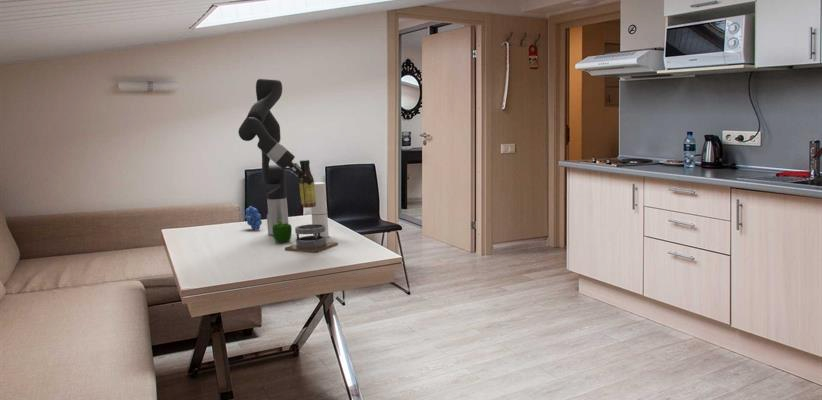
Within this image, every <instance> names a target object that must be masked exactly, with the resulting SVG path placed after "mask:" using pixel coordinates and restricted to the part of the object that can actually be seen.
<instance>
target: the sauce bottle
mask: <svg viewBox="0 0 822 400" xmlns="http://www.w3.org/2000/svg"><path fill="white" fill-rule="evenodd" d="M299 164H300V165H299V166H300V167H301V169H302V170H303V173H304V174H306V176H307V177H308V178H310V179H311V180H312V183H311V184H310V185H308V184H307V183H306V182H305V181H304V180H303V179H300V178H299V177H298V181H299V183H298V184H299V186H298V187H299V195H300V204H301V207H302V208H311V207H315V206H316V197H315V187H314V183H315V180H314V177H313V175H312V171H311V167H310V160H309V159H302V160H299ZM301 174H302V173H301ZM301 174H300V175H301Z"/></svg>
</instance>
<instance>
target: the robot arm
mask: <svg viewBox="0 0 822 400" xmlns="http://www.w3.org/2000/svg"><path fill="white" fill-rule="evenodd" d="M255 93H256V95H255V96H256V102H255V103H253V105H252V106H251V107H250V109H249V112H248V113H247V115H246V118H245V119H244V121H243V122H242V123H241V125H240V126H239V128H238V137H239V138H240V139H241V140H242V141H245V142H249V141H253V140H254V138H255V137H257V138H258V141H257V148H258V149H259V150H260V151H261V178H262V183H263V184H264V185H265V186H266V185H269V186H270V185H271V186H272V185H278V186H277V187H276V188H275V189H273V190H271V191H269V192H267V193H266V200H267V202H266V203H267V214H266V222H267V223H266V224H267V234H268V235H271V236H272V235H273V228H272V227H273V225H277V224H280V222H277V220H281V221H282V224H285V223H287V224H290V222H289V213H288V211H289V210H288V200H287V187H286V185H287V184H286V183H287V182H286V181H287V180H286V179H287V178H286V168H289V172H290V173H292V174H294V175H295V176H296V177H298V179H299V178H300V179H303V180H304V181H305V182H306V183H307V184H308V185H310V184H311V183H312V180H311V179H310V178H308V177H307V176H306V174H304V173H303V170H302V169H301V166H300V165H299V164H298V163H297V162H293V160H295V155H294V154H293V153H292V152H290V151H289V150H288V149H287V148H286V147H284V145H283V144H281V143H280V142H281V138H282V137H281V126H280V123H279V122H278V120H277V119H276V116H274V114H273V113H272V112H271V110H272V109H273V107H274V106H275V105H276V104H277V102H278V101H279V100H280V99H281V97H282V94H283V84H282V82H281V80H280V79H276V78H266V77H264V78H261V77H260V78H258V79H257V80H256V83H255ZM270 160H271V161H272V163H275V164H271V165H270ZM301 173H302V174H301ZM300 174H301V175H300ZM273 236H274V235H273Z"/></svg>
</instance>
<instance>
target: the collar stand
mask: <svg viewBox="0 0 822 400" xmlns="http://www.w3.org/2000/svg"><path fill="white" fill-rule="evenodd" d="M325 230H326V228H325V225H322V224H312V223H310V224H301V225H299V226H296V227H295V229H294V232H295V234H296V239H295V244H292V245H289V246H287V247H284V251H289V252H290V251H292V252H300V253H312V254H313V253H314V254H316V253H318V252H321V251H324V250H327V249H330V248H333V247H336V246H338V245H339V243H338V242H333V241H327V237H325V236H320V233H322V232H325ZM317 233H318V235H317ZM313 234H315V235H314V236H313ZM300 235H305V236H301V237H300Z"/></svg>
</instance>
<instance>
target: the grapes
mask: <svg viewBox="0 0 822 400" xmlns="http://www.w3.org/2000/svg"><path fill="white" fill-rule="evenodd" d="M245 213H246V214H245V215H244V216H245V217H244V218H245V219H246V223H247V225H248V226H250V228H251V229H252V230H260V228H261V225H262V220H261V218H262V215H261V214H260V213H259V209H257V208H256V207H254V206H252V205H249V206H248V207H247V208H246V209H245Z"/></svg>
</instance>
